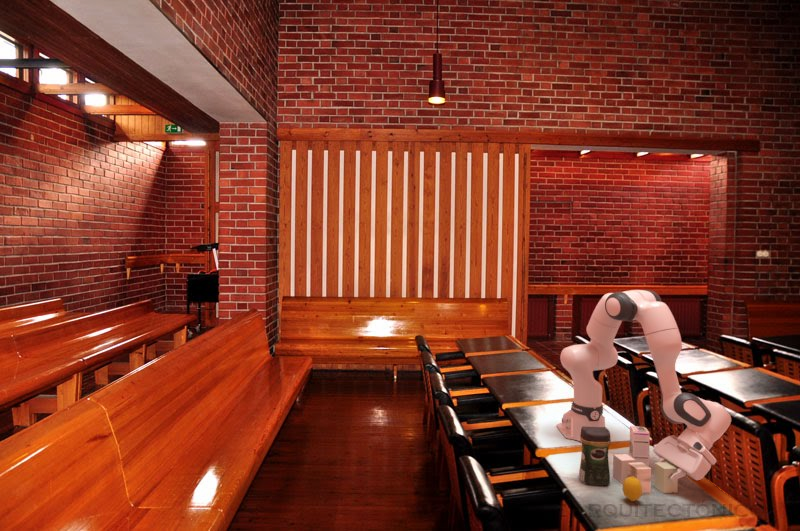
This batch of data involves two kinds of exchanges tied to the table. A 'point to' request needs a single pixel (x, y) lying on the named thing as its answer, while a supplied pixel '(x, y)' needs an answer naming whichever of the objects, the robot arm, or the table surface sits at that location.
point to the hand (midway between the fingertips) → (664, 475)
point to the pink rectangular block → (621, 467)
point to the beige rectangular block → (665, 477)
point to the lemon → (632, 488)
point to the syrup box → (639, 444)
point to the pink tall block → (641, 475)
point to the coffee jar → (595, 455)
